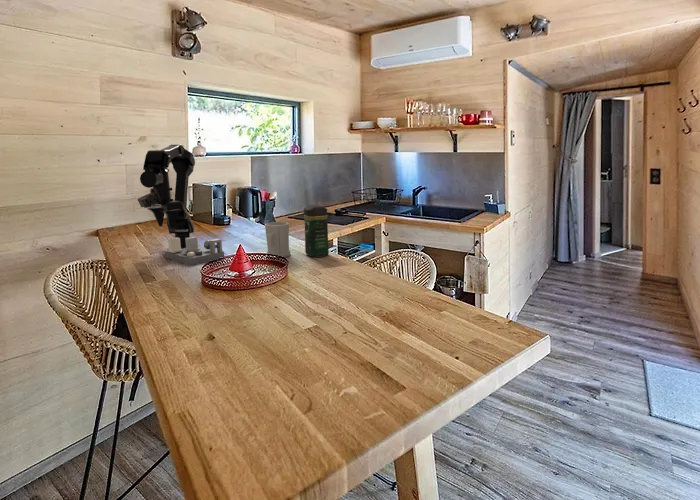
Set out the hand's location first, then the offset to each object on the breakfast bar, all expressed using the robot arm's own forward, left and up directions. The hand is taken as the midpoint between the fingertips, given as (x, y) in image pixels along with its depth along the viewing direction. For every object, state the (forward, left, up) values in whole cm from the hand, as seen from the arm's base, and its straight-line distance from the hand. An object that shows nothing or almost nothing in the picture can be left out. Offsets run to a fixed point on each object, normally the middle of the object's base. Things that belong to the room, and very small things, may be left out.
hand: (165, 227), depth 174 cm
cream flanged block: (+6, 0, -8) cm, 10 cm away
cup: (+34, +25, -11) cm, 44 cm away
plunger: (+16, +9, -8) cm, 20 cm away
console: (+11, +5, -11) cm, 16 cm away
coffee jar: (+44, +35, -11) cm, 57 cm away
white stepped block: (+10, +4, -8) cm, 14 cm away
